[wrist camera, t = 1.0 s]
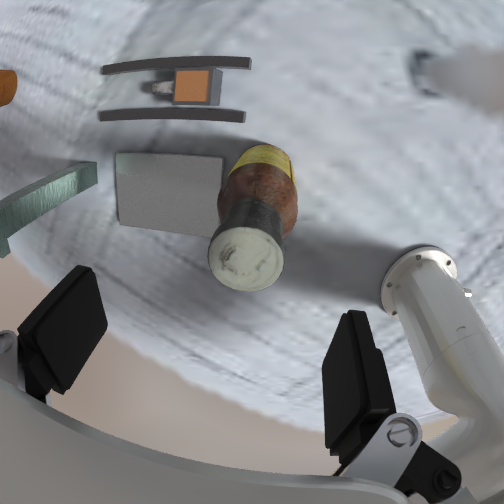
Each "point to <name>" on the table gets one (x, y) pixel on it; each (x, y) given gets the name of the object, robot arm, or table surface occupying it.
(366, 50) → the table surface
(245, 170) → the sauce bottle
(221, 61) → the frame
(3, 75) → the disposable coffee cup
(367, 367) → the robot arm
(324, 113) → the table surface
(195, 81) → the orange-faced grey cube
